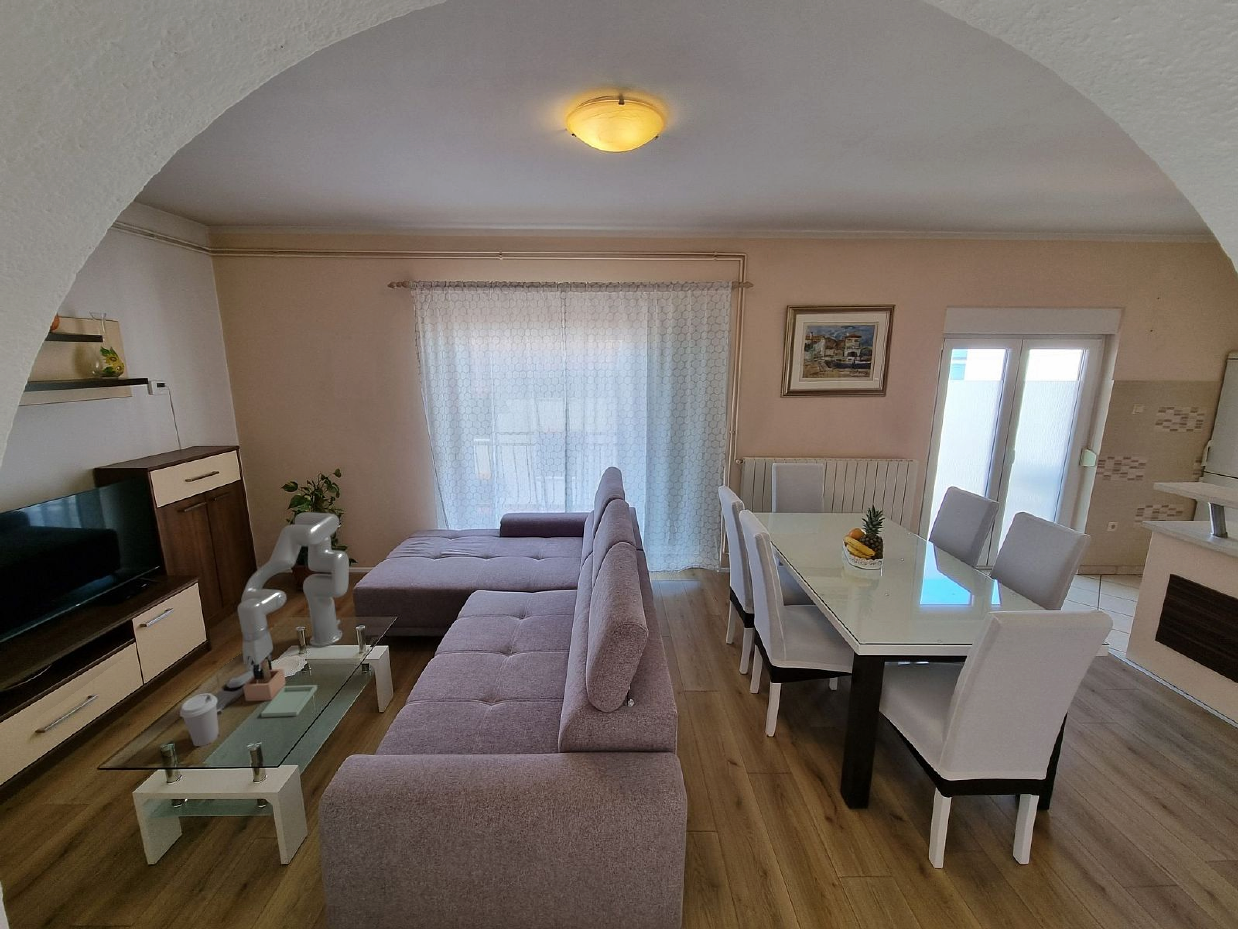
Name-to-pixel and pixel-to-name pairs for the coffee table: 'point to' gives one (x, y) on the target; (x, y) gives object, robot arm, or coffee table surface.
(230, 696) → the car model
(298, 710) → the tray
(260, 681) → the peg
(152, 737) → the coffee table surface
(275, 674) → the pink storage bin
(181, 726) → the coffee table surface
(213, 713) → the coffee cup
